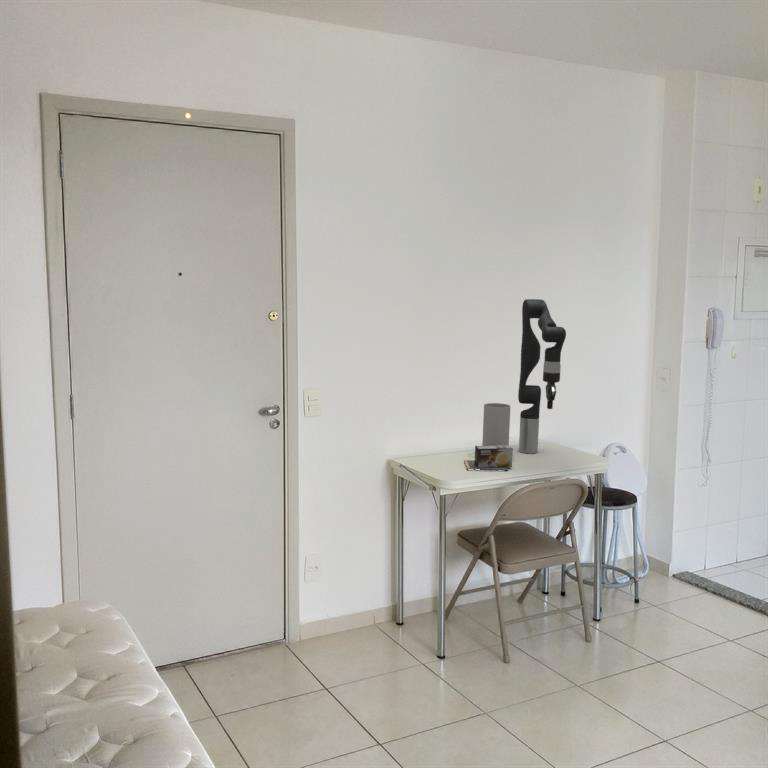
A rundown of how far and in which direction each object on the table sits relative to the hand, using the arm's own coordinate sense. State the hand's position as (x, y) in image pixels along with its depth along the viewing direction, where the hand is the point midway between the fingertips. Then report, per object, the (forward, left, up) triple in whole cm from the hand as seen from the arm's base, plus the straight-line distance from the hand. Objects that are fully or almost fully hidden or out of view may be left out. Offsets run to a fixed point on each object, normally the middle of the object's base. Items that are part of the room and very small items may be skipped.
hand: (549, 408), depth 358 cm
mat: (+2, -28, -27) cm, 39 cm away
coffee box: (+2, -17, -22) cm, 28 cm away
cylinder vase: (-18, -21, -27) cm, 39 cm away
